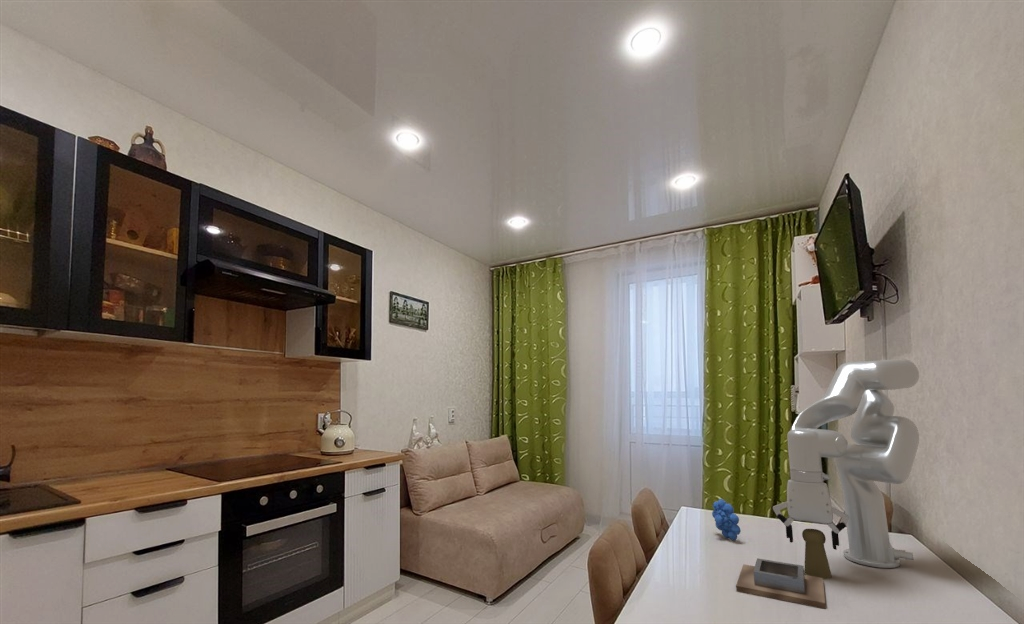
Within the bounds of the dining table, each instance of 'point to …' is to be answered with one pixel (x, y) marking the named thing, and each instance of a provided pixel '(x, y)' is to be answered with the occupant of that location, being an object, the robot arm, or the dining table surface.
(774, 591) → the collar board
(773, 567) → the collar
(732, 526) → the grapes
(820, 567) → the cork
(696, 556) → the dining table surface
